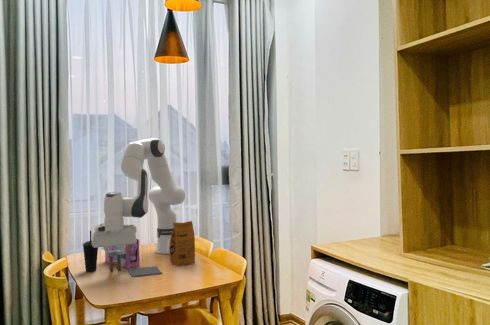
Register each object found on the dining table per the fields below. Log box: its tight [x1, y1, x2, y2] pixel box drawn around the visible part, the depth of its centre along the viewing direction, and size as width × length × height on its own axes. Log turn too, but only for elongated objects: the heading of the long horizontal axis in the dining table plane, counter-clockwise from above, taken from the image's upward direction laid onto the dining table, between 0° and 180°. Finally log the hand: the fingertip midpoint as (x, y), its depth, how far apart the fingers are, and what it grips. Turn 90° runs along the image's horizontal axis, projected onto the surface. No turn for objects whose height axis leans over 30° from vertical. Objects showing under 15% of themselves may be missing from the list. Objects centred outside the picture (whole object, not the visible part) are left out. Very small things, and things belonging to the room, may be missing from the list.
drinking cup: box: [82, 230, 99, 273], centre depth 205 cm, size 8×8×20 cm
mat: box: [127, 265, 163, 278], centre depth 202 cm, size 14×14×1 cm
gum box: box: [104, 238, 141, 269], centre depth 219 cm, size 24×8×14 cm, turn 47°
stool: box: [109, 250, 122, 274], centre depth 198 cm, size 5×5×10 cm
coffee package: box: [169, 220, 196, 267], centre depth 218 cm, size 10×12×22 cm
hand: (114, 254), depth 198 cm, fingers closed on stool, 5 cm apart
